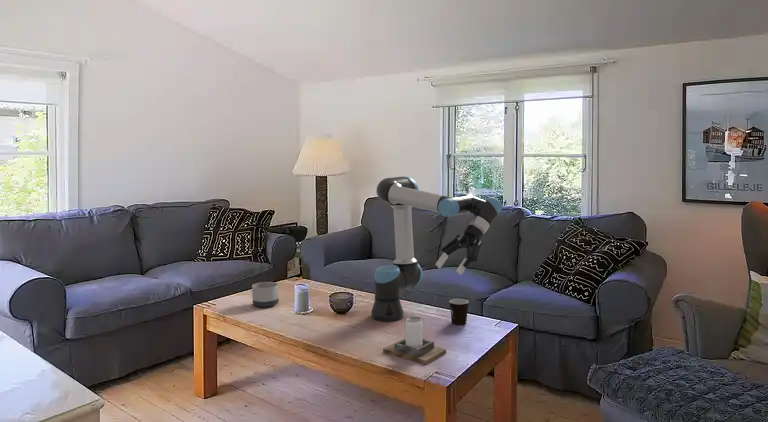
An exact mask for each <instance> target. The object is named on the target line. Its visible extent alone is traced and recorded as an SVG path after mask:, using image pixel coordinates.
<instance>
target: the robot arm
mask: <svg viewBox="0 0 768 422" xmlns="http://www.w3.org/2000/svg"><path fill="white" fill-rule="evenodd" d="M375 191H376V195H377V197H378V199H379V200H380V201H381V202H384V203H386V204H389V206H390V207H391V208H392V210H393V222H394V225H393V226H394V227H393V228H394V241H395V242H394V243H395V257H396V258H395V259H394V260H393V264H387V265H382V266H378V267H377V268H376V269H375V271H374V277H373V279H374V302H373V305H372V309H371V312H370V313H371V314H370V315H371V318H372V319H373V320H375V321H379V322H394V321H399V320H401V319H403V318H404V309H403V305H402V303H401V300H400V299H401V298H400V297H401V292H402V291H406V290H409V289H414V288H415V287H417V286H418V285H420V284H421V282H422V280H423V276H424V274H423V273H424V271H423V269H422V267H421V266H420V264H419V263H418V260H417V258H415V253H414V232H413V219H412V218H413V215H412V214H413V213H412V208H413V207H414V208H416V209H417V208H418V209H421V210H426V211H429V212H435V213H439V214H440V215H441V216H442V217H446V218H448V217H449V218H452V217H455V216H460V215H466V214H470V215H473V218H472V219H471V221H470V222H469V224H467V227H466V228H465V229H464V232H463V235H462V236H461V235H460V234H457V235H456V236H455V237H454V238H453V239H452V240H451V241H449V242H448V243H447V244H445V245H444V246H443V247H442V248H441V252H442V254H441V255H440V256H439V257H438V260H436V263H435V264H434V265H435V266H436V267H437V268H438V269H441V268H442V267H443V265H444V264H445V262H446V261H447V259H448V258H449V257H450V256H449V255H451V254H452V253H454V252H456V251H457V250H459V249H466V257H464V259H463V260H462V262H461V263H460V264H459V266H458V267H457V268H456V270H455V271H456V273H457V274H459V276H462V274H463V273H464V271H465V270H466V269H467V268H468V267H469V265H470V264H471V263H472V262H477V261H478V258H479V257H478V256H479V253H480V250H481V249H480V248H481V246H482V244H483V242H482V241H481V239H482V238H483V237H484V235H485V233H486V232H487V231H488V229H489V228H491V225H492V224H493V222H494V221H495V220H496V218H497V217H498V216H499V214H500V212H501V211H502V209H503V203H502V202H501V201H500V200H499V199H497V198H496V197H494V196H493V197H492V196H489V197H487V198H486V199H485V200H484V199H481V198H479V197H476V196H474V195H472V194H470V193H466V192H460V193H458V194H457V195H456V196H455V197H454V196H446V195H442V194H438V193H433V192H429V191H424V190H419V186H418V184H417V182H416V180H414V179H413V178H412V177H410V176H396V177H395V176H394V177H386V178H384V179H382V180H380V181H379V183H378V184H377V186H376V190H375Z"/></svg>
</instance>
